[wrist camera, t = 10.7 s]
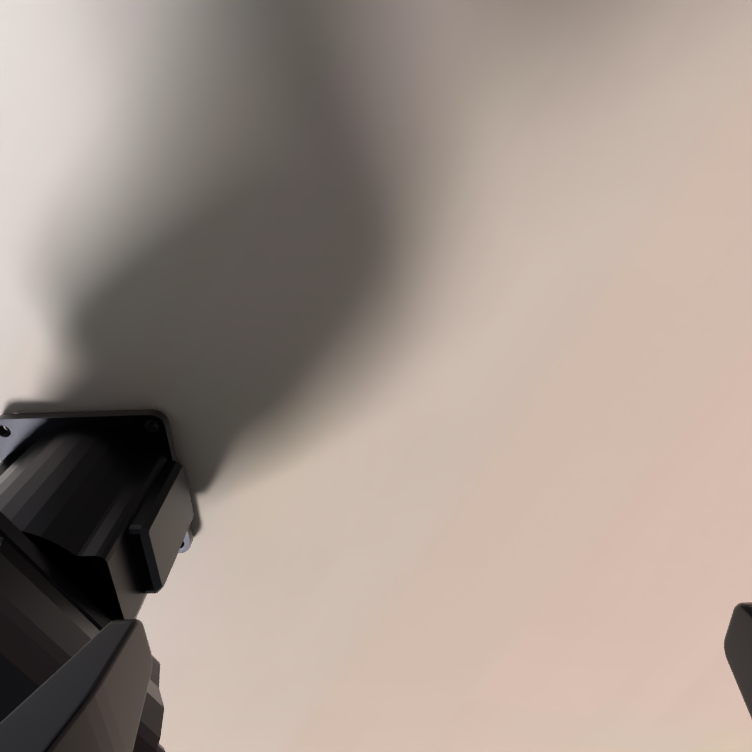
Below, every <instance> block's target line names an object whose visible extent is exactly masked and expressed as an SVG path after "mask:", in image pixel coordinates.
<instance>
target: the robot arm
mask: <svg viewBox="0 0 752 752" xmlns="http://www.w3.org/2000/svg"><path fill="white" fill-rule="evenodd" d="M148 421H154V422H156V423H157V424H158V426H159V427H153V426H151V425H150V424H149V422H148ZM3 426H6V427H8V428H9V429H10V431H11V432H10V431H7V430H5V429H4V427H3ZM0 460H1V462H0V752H165V750H164V748H163V747H162V746H161V745H160V744H159V740H160V735H161V728H162V720H163V712H164V706H163V702H162V698H161V694H160V691H159V674H160V663H159V662H158V661H157V660H156V659H155V658H154V657H153V656H152V655H151V651H150V647H149V644H148V640H147V637H146V633H145V630H144V626H143V624H142V622H141V621H140V620H137V619H136V617H137V615H138V613H139V610H140V608H141V606H142V604H143V602H144V599H145V597H146V595H147V593H158V592H159V591H160V590H161V589H162V587H163V586H164V584H165V582H166V580H167V577H168V575H169V573H170V570H171V568H172V566H173V563H174V561H175V559H176V556H177V554H178V553H183V552H186V551H187V550H188V549H189V548H190V546H191V543H192V541H193V535H192V530H191V525H190V524H191V521H192V519H193V517H194V513H193V508H192V503H191V498H190V493H189V488H188V483H187V478H186V474H185V469H184V465H183V464H182V463H181V462H180V461H179V460H177V459H176V454H175V449H174V444H173V439H172V435H171V430H170V425H169V421H168V418H167V416H166V415H165V414H164V413H162V412H160V411H158V410H126V411H94V412H62V413H30V414H5V415H1V416H0ZM724 649H725V654H726V658H727V660H728V663H729V665H730V668H731V670H732V672H733V675H734V677H735V680H736V682H737V684H738V687H739V689H740V692H741V694H742V696H743V699H744V701H745V704H746V706H747V708H748V711H749V713H750V716H751V718H752V602H749V603H739V604H738V605H737V606H736V607H735V608H734V610H733V614H732V617H731V620H730V623H729V627H728V630H727V633H726V636H725V640H724Z"/></svg>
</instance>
